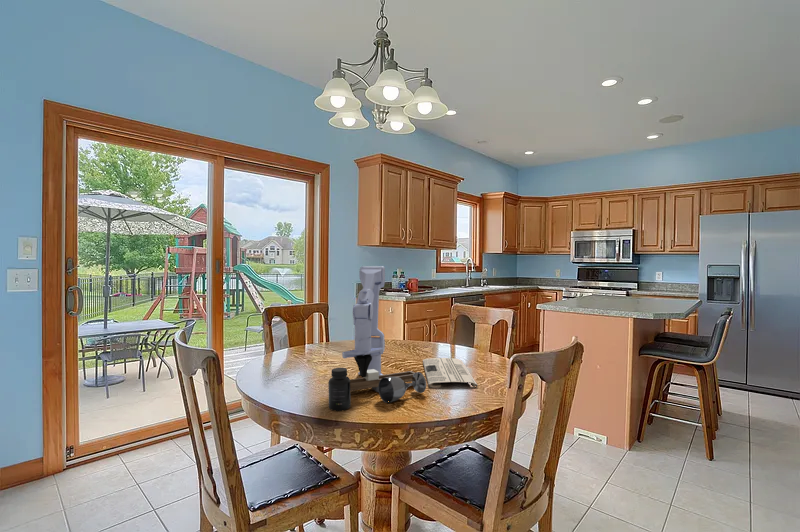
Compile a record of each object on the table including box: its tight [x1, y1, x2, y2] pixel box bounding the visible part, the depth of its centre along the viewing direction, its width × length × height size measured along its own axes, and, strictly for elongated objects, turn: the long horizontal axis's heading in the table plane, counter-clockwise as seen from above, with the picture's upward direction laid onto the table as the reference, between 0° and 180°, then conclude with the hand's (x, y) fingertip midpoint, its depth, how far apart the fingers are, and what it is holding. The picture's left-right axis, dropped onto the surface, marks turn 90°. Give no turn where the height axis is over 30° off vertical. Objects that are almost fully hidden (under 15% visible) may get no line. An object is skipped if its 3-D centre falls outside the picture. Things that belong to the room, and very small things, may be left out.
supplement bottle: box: [327, 367, 352, 412], centre depth 126 cm, size 7×7×12 cm
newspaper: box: [422, 357, 478, 389], centre depth 164 cm, size 37×19×3 cm, turn 0°
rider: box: [363, 369, 379, 381], centre depth 142 cm, size 4×4×4 cm
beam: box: [349, 370, 416, 393], centre depth 144 cm, size 6×28×4 cm, turn 117°
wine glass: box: [378, 371, 427, 404], centre depth 135 cm, size 8×8×15 cm
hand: (363, 376), depth 141 cm, fingers closed
